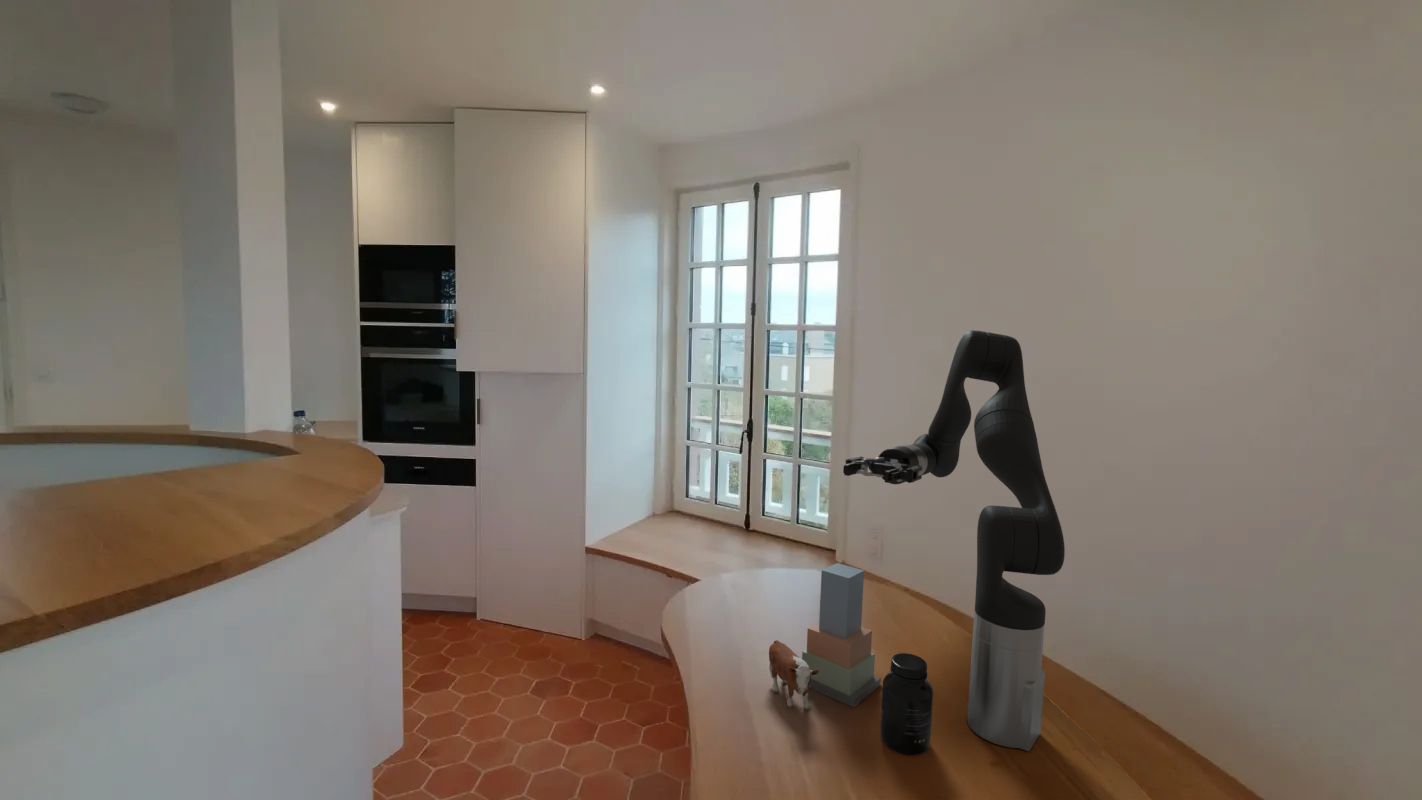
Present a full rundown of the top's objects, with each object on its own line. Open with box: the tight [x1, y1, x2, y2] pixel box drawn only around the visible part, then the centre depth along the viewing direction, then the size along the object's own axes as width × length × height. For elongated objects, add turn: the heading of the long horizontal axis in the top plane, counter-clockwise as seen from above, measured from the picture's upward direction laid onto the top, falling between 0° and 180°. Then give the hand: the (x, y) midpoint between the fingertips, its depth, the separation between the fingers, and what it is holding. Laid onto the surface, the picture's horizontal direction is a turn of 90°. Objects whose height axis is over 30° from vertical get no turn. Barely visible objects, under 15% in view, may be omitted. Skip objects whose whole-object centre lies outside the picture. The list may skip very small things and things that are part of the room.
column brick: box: [818, 562, 865, 639], centre depth 102 cm, size 5×5×10 cm
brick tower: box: [801, 621, 882, 708], centre depth 102 cm, size 11×9×9 cm
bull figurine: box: [768, 639, 819, 711], centre depth 97 cm, size 4×13×8 cm, turn 15°
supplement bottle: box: [879, 652, 934, 757], centre depth 87 cm, size 7×7×12 cm
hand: (865, 473), depth 118 cm, fingers open, 8 cm apart
